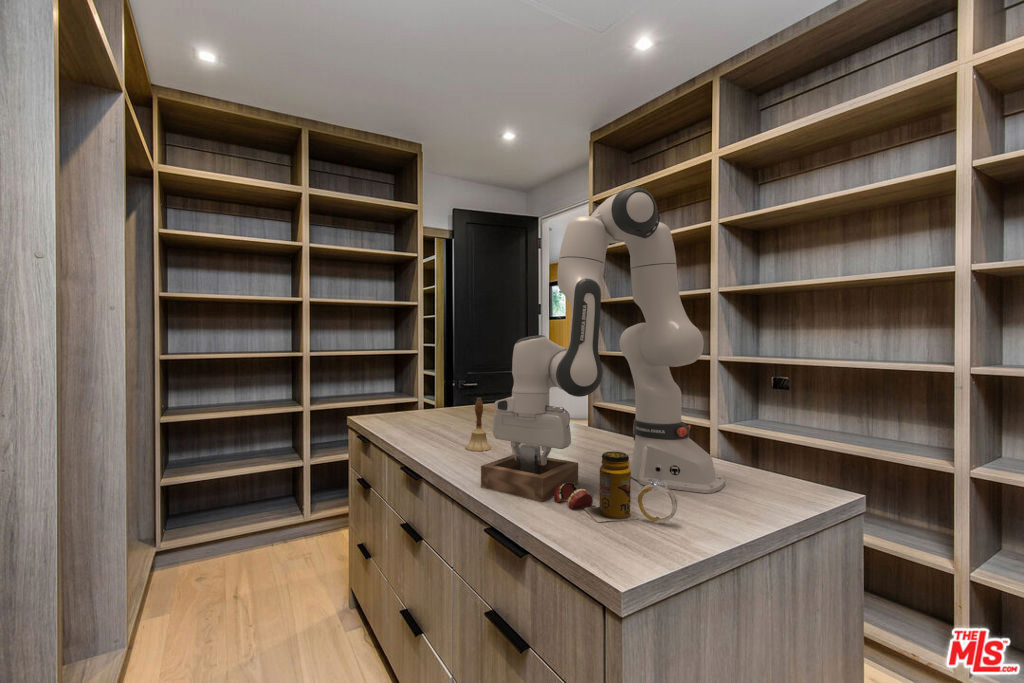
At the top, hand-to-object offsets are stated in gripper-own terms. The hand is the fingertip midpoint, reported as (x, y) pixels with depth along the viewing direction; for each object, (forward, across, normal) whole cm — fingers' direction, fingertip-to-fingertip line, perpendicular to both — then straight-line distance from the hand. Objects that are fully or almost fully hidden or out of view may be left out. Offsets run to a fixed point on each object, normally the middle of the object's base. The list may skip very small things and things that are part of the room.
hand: (530, 462), depth 113 cm
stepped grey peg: (+5, 0, 0) cm, 5 cm away
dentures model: (+6, -14, +5) cm, 16 cm away
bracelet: (+6, -32, +5) cm, 33 cm away
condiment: (+6, -23, +6) cm, 24 cm away
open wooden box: (+5, 0, 0) cm, 5 cm away
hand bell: (+6, +34, -22) cm, 41 cm away
